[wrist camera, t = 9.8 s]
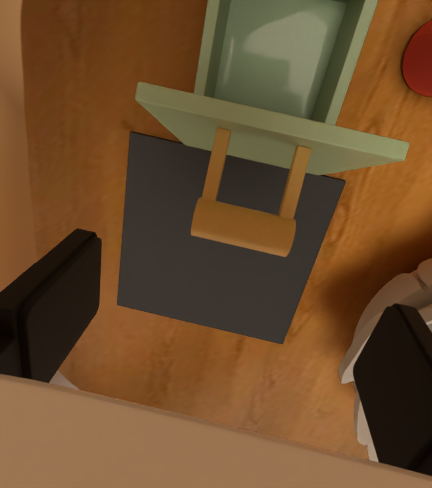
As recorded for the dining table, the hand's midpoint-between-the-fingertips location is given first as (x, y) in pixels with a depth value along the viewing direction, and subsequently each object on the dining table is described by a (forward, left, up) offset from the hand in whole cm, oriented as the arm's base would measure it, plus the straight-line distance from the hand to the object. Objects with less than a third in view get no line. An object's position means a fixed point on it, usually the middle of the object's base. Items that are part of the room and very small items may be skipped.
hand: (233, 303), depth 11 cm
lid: (-2, +2, -13) cm, 14 cm away
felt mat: (+8, -11, -29) cm, 32 cm away
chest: (-5, +6, -29) cm, 29 cm away
